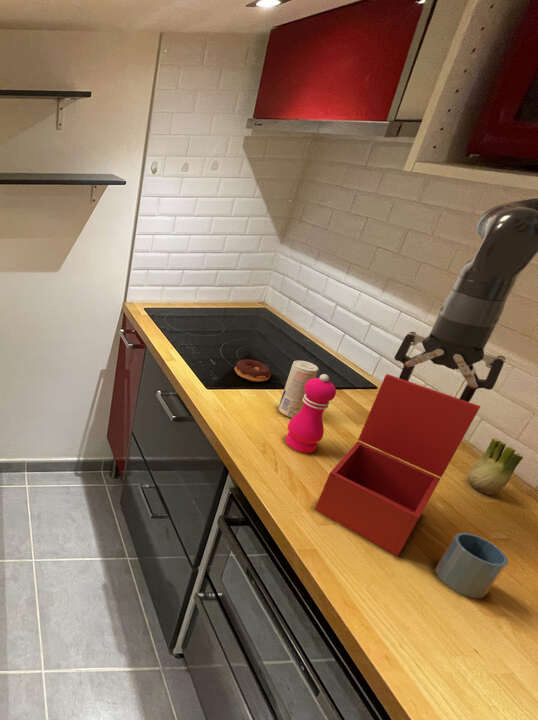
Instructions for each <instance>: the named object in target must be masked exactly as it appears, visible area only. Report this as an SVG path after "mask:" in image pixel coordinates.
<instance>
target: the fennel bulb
mask: <svg viewBox="0 0 538 720" xmlns="http://www.w3.org/2000/svg"><path fill="white" fill-rule="evenodd" d="M523 459H524V456H523V455H522V454H520V453H519V452H516V449H515V448H514V447H511V446H507V444H506V443H505V442H503V441H502V440H501V439H499V438H496V437H494V438H493V437H492V438H491V441H490V443H489V445H488V447H487V449H486V450H485V452H484V454H482V456H481V457H480V458H479V459H477V461H476V462H475V463H474V464H473V466H472V467H471V468H470V470H469V472H468V476H467V482H468V484H469V485H470V486H471V487H472V488H474V489H475V490H476V491H478V492H480V493H483V494H485V495H488V496H494V495H496V494H497V493H499V492H500V491H502V490H503V489H504V488H505V487H506V486H507V484H508V483H509V481H510V479H511V478H512V476H513V474H514V472H515V471H516V468H517V467H518V465H519V464H520V463H521V461H522V460H523Z"/></svg>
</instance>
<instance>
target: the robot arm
mask: <svg viewBox="0 0 538 720" xmlns="http://www.w3.org/2000/svg"><path fill="white" fill-rule="evenodd" d="M475 231H476V234H477V235H478V237H479V238H480V239H482V242H481V244H480V246H479V248H478V250H477V252H476V253H475V255H474V258H473V259H470V260H468V261H466V262H465V264H464V265H463V266H462V267H461V270H460V271H459V273H458V276H457V278H456V280H455V282H454V285H453V287H452V289H451V291H450V292H449V294H448V295H447V297H446V298H445V300H444V302H443V304H442V305H441V306H440V308H439V309H440V310H439V313H438V315H437V317H436V319H435V322H434V324H433V326H432V329H431V330H430V333H429V335H428V336H426V337H425V336H422V335H419V334H417V333H416V332H415V331H410V332H408V333H407V334H406V335H405V336H404V338H403V340H402V342H401V343H400V346H399V348H398V349H397V352H396V353H395V355H394V360H395V361H397V362H400V363H402V365H403V367H402V370H401V372H400V374H399V377H398V378H400V379H403V380H406V381H409V382H410V379H411V377H412V374H413V372H414V370H415V368H416V365H418V364H423V363H425V362H427V361H430V362H431V363H432V364H434V365H437V366H444V367H446V368H448V369H450V370H459V371H460V373H461V375H462V377H463V378H464V379H465V381H466V385H465V387H464V389H463V391H462V393H461V395H460V397H459V399H461V400H464V401H467V402H471V401H472V399H473V397H474V395H475V393H476V391H477V390H479V389H485V390H488V391H489V390H493V389H494V387H495V385H496V383H497V381H498V378H499V376H500V373H501V371H502V369H503V366H504V365H505V362H506V357H505V356H503V355H497V356H494V355H491V354H490V355H489V354H486V353H485V347H486V346H487V344H488V341H489V340H490V338H491V336H492V334H493V332H494V330H495V328H496V327H497V325H498V323H499V321H500V318H501V317H502V314H503V313H504V309H505V306H506V303H507V300H508V298H509V296H510V294H511V293H512V290H513V289H514V286H515V284H516V282H517V280H518V277H519V276H520V274H522V272H523V271H524V270H525V269H526V268H527V266H529V264H530V263H531V261H533V259H534V258H535V257H536V255H538V197H535V198H527V199H522V200H515V201H509V202H505V203H502V204H499V205H496V206H493V207H491V208H489V209H488V210H486V211H484V213H482V214H481V215H480V216H479V218H478V219H477V221H476V223H475ZM419 343H421V345H422V347H423V349H424V351H422V352H420V353H418V354H417V355H414V356H412V357H410V356H409V355H407V354H408V353H409V350H410V348H411V346H417V344H419ZM481 361H483V362H484V363H485V367H486V368H488V369H490V370H489V371H488V374H487V376H486V379H482V378H479V376H478V374H477V369H476V368H475V366H474V364H477V363H479V362H481Z"/></svg>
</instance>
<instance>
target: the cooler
mask: <svg viewBox="0 0 538 720" xmlns="http://www.w3.org/2000/svg"><path fill="white" fill-rule="evenodd" d="M440 480H441V477H439V476H437V475H435V474H432V473H430V472H428V471H426V470H424V469H421V468H419V467H417V466H415V465H412V464H410V463H408V462H406V461H404V460H401V459H399V458H397V457H395V456H392V455H390V454H388V453H386V452H384V451H381V450H379V449H377V448H375V447H372V446H370V445H368V444H366V443H364V442H361V441H359V440H357V441H356V443H354V445H353V446H352V447H351V448H350V449H349V450H348V451H347V452H346V454H345V455H344V456H343V457H342V458H341V459H340V461H339V462H337V464H336V465H335V466H334V467H333V469H332V470H331V471H330V472H329V474H328V476H327V479H326V481H325V484H324V486H323V488H322V491H321V493H320V496H319V498H318V500H317V503H316V505H315V507H314V509H315V510H316V511H317V512H319V513H321V514H323V515H324V516H326V517H328V518H330V519H331V520H333V521H335V522H337V523H338V524H340V525H341V526H344V527H345V528H346V529H349V530H351V531H352V532H354V533H355V534H357V535H359V536H361V537H363V538H364V539H366V540H368V541H369V542H371V543H373V544H375V545H376V546H378V547H379V548H381V549H383V550H385V551H387V552H389V553H390V554H392V555H394V556H396V557H399V555H400V553H401V551H402V550H403V548H404V546H405V544H406V543H407V541H408V539H409V537H410V535H411V533H412V532H413V529H414V528H415V526H416V524H417V523H418V521H419V519H420V518H421V515H422V514H423V512H424V510H425V508H426V506H427V505H428V503H429V500H430V499H431V497H432V495H433V493H434V492H435V490H436V488H437V486H438V485H439V482H440Z"/></svg>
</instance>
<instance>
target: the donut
mask: <svg viewBox="0 0 538 720" xmlns="http://www.w3.org/2000/svg"><path fill="white" fill-rule="evenodd" d="M234 371H235V373H236V375H237V376H239V377H240V378H241V379H243V380H247V381H248V382H253V383H254V382H255V383H261V382H266V381H268V380H269V379H270V377H271V374H272V371H271V368H270V367H269V366H268V365H266V364H264V363H262V362H260V361H259V360H256V359H255V360H254V359H240V360H238V361H237V362H236V364H235V366H234Z"/></svg>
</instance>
